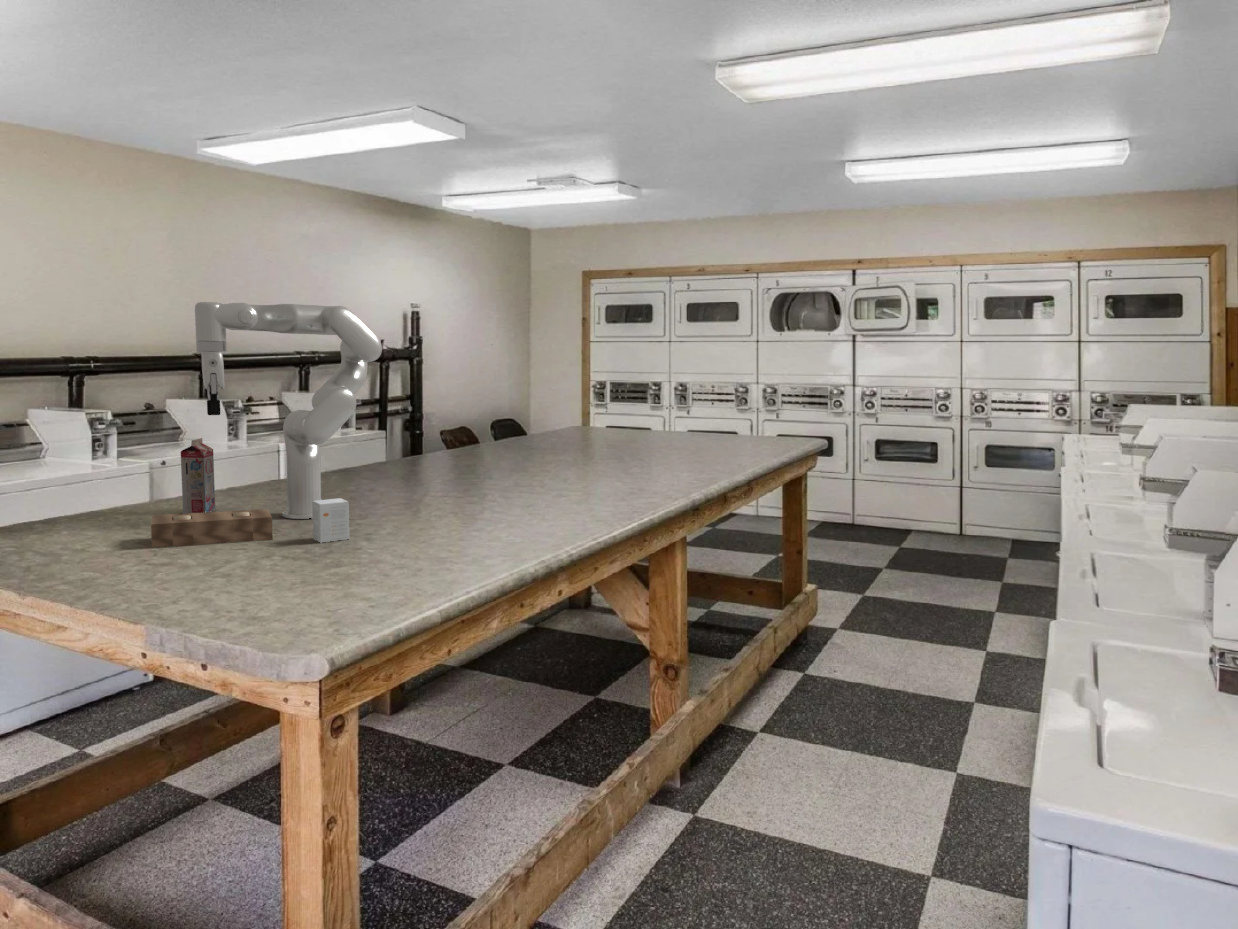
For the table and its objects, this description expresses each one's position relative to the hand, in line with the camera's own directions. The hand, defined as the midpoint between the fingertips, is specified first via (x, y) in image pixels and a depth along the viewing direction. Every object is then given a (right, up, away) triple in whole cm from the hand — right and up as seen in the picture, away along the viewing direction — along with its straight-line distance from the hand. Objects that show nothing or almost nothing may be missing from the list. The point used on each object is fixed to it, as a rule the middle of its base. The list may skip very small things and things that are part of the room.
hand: (213, 414), depth 240 cm
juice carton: (-15, -28, +22) cm, 38 cm away
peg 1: (-1, -33, -16) cm, 37 cm away
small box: (+35, -34, -9) cm, 50 cm away
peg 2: (+12, -32, -9) cm, 36 cm away
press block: (+6, -33, -12) cm, 36 cm away
